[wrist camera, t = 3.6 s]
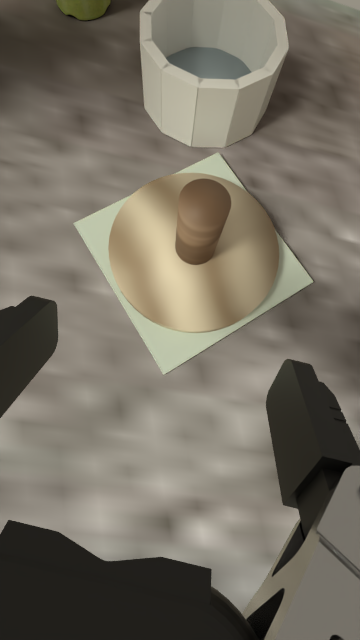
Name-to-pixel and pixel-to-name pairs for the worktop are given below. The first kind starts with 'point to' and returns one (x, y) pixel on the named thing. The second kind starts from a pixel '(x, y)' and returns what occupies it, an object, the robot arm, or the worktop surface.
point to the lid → (193, 252)
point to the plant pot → (83, 8)
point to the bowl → (210, 66)
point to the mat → (173, 344)
